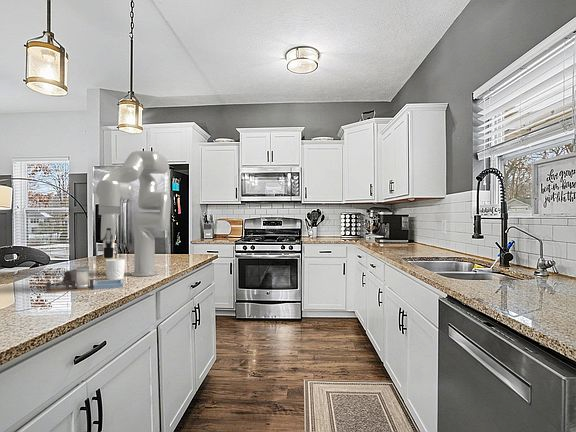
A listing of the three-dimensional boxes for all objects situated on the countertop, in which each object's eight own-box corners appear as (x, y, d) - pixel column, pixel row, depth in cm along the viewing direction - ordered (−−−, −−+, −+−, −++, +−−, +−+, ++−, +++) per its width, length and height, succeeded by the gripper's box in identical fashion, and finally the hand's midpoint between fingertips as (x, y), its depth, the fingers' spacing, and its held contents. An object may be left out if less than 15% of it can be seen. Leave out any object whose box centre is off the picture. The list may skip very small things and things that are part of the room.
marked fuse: (103, 258, 137) (103, 238, 137) (114, 258, 139) (115, 238, 139) (102, 259, 133) (102, 239, 134) (114, 259, 135) (114, 239, 135)
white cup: (105, 280, 156) (106, 258, 156) (125, 279, 160) (125, 258, 160) (104, 283, 149) (105, 260, 149) (124, 282, 152) (125, 259, 153)
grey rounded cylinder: (76, 287, 133) (77, 266, 134) (89, 286, 135) (89, 266, 135) (75, 289, 130) (75, 268, 130) (88, 288, 132) (88, 267, 132)
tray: (95, 288, 139) (95, 281, 139) (122, 286, 143) (122, 279, 143) (93, 293, 130) (93, 285, 130) (122, 291, 134) (122, 283, 134)
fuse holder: (49, 292, 132) (49, 280, 132) (93, 288, 139) (93, 277, 139) (43, 297, 123) (44, 284, 123) (91, 293, 130) (92, 281, 130)
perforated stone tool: (78, 282, 152) (78, 266, 153) (90, 282, 153) (91, 266, 153) (58, 289, 138) (58, 271, 138) (72, 289, 138) (72, 271, 138)
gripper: (99, 211, 143) (99, 255, 142) (97, 210, 127) (96, 259, 127) (119, 212, 146) (119, 255, 145) (119, 210, 131) (119, 259, 130)
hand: (108, 256), depth 136 cm, fingers closed on marked fuse, 4 cm apart
